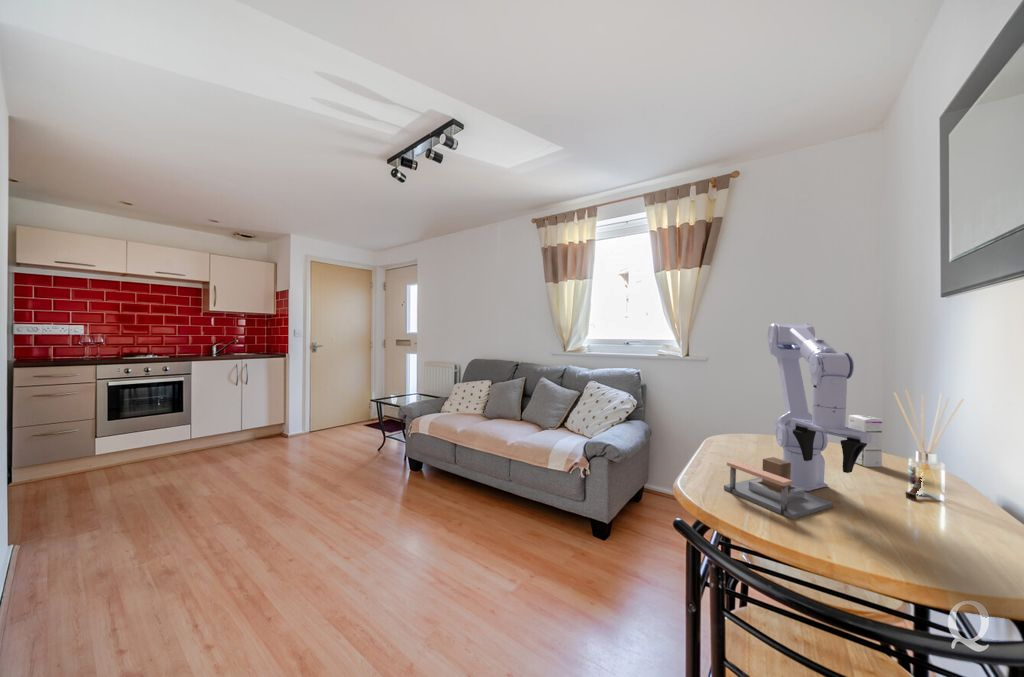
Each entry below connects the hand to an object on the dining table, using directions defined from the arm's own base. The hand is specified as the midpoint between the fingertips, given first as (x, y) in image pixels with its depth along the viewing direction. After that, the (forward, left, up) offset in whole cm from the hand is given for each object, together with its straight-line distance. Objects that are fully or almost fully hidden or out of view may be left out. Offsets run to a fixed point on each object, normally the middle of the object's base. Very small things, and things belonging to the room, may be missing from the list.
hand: (826, 465), depth 84 cm
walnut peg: (+5, -8, -9) cm, 13 cm away
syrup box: (-46, -13, -10) cm, 49 cm away
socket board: (+5, -8, -10) cm, 14 cm away
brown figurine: (-29, +4, -10) cm, 31 cm away
